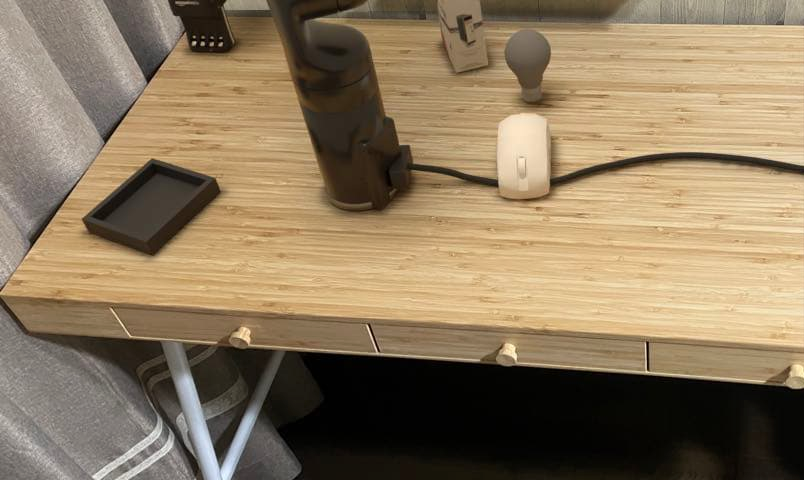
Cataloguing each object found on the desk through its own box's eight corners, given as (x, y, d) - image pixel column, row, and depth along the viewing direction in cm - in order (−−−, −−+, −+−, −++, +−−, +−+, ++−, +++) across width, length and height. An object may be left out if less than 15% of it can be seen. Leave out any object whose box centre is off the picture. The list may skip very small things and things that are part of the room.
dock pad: (221, 191, 127) (215, 177, 125) (152, 255, 120) (146, 242, 118) (158, 171, 131) (151, 157, 129) (88, 232, 123) (81, 218, 122)
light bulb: (505, 110, 134) (496, 44, 126) (516, 84, 137) (508, 18, 130) (548, 113, 132) (542, 47, 125) (559, 87, 136) (554, 21, 129)
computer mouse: (498, 202, 121) (492, 161, 116) (501, 136, 130) (496, 95, 125) (551, 199, 121) (547, 158, 116) (551, 133, 129) (548, 92, 125)
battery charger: (184, 54, 149) (156, -17, 141) (194, 40, 152) (168, -30, 143) (228, 56, 148) (202, -16, 140) (237, 41, 151) (213, -30, 142)
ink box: (441, 43, 146) (428, -33, 137) (473, 35, 147) (462, -41, 138) (456, 74, 140) (443, -3, 131) (489, 66, 141) (479, -11, 132)
